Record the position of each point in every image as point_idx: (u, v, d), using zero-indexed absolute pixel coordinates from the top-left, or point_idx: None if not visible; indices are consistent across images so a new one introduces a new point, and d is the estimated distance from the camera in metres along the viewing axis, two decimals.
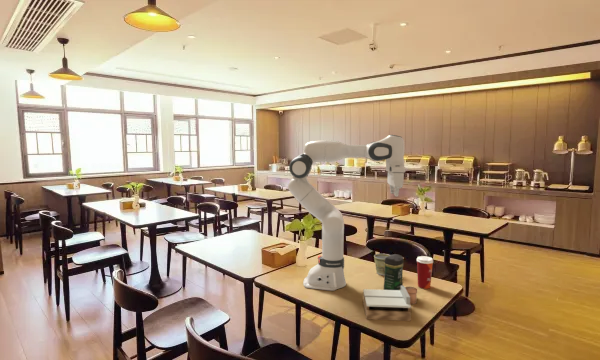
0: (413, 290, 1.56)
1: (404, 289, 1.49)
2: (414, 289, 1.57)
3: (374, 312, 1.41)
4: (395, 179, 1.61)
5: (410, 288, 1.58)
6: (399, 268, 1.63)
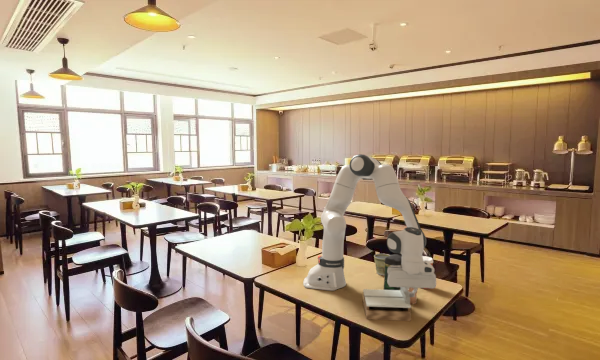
0: None
1: (404, 289, 1.49)
2: None
3: (374, 312, 1.41)
4: (435, 279, 1.44)
5: (410, 288, 1.58)
6: None
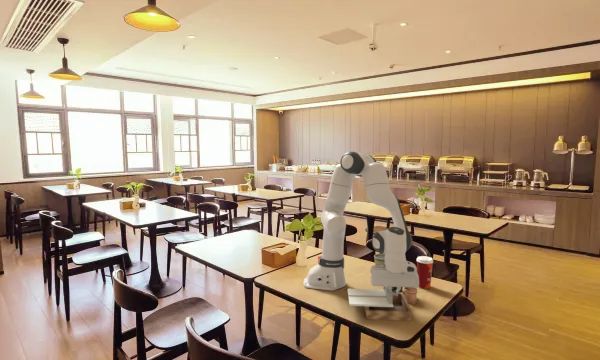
0: (413, 290, 1.56)
1: (387, 288, 1.50)
2: (414, 289, 1.57)
3: (374, 312, 1.41)
4: (418, 278, 1.45)
5: (410, 288, 1.58)
6: None
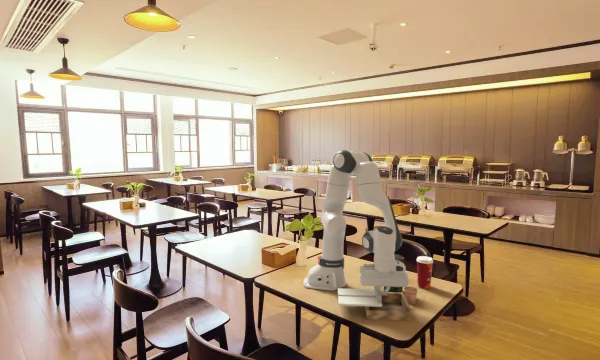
0: (413, 290, 1.56)
1: (377, 288, 1.50)
2: (414, 289, 1.57)
3: (374, 312, 1.41)
4: (407, 278, 1.45)
5: (410, 288, 1.58)
6: None
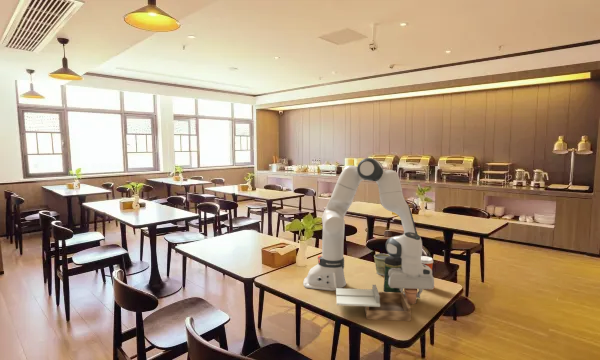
0: (413, 290, 1.56)
1: (375, 288, 1.50)
2: (414, 289, 1.57)
3: (374, 312, 1.41)
4: (433, 280, 1.54)
5: None
6: None
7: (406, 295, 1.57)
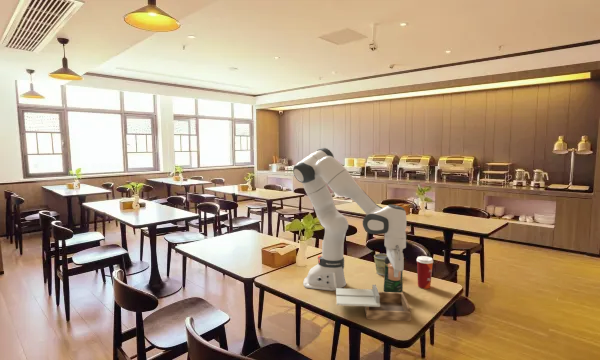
0: None
1: (375, 288, 1.50)
2: None
3: (374, 312, 1.41)
4: None
5: None
6: None
7: None
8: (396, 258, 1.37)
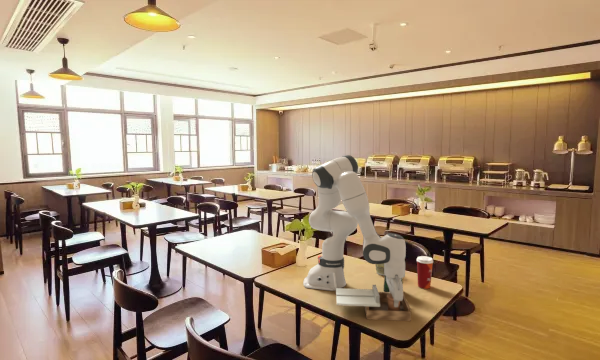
0: None
1: (375, 288, 1.50)
2: None
3: (374, 312, 1.41)
4: None
5: None
6: None
7: None
8: (395, 288, 1.38)
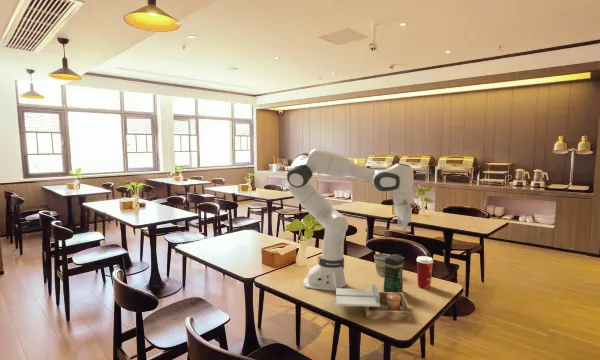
0: (396, 295, 1.49)
1: (375, 288, 1.50)
2: (393, 294, 1.50)
3: (374, 312, 1.41)
4: None
5: (392, 296, 1.49)
6: (399, 268, 1.63)
7: (397, 304, 1.46)
8: (404, 210, 1.48)
